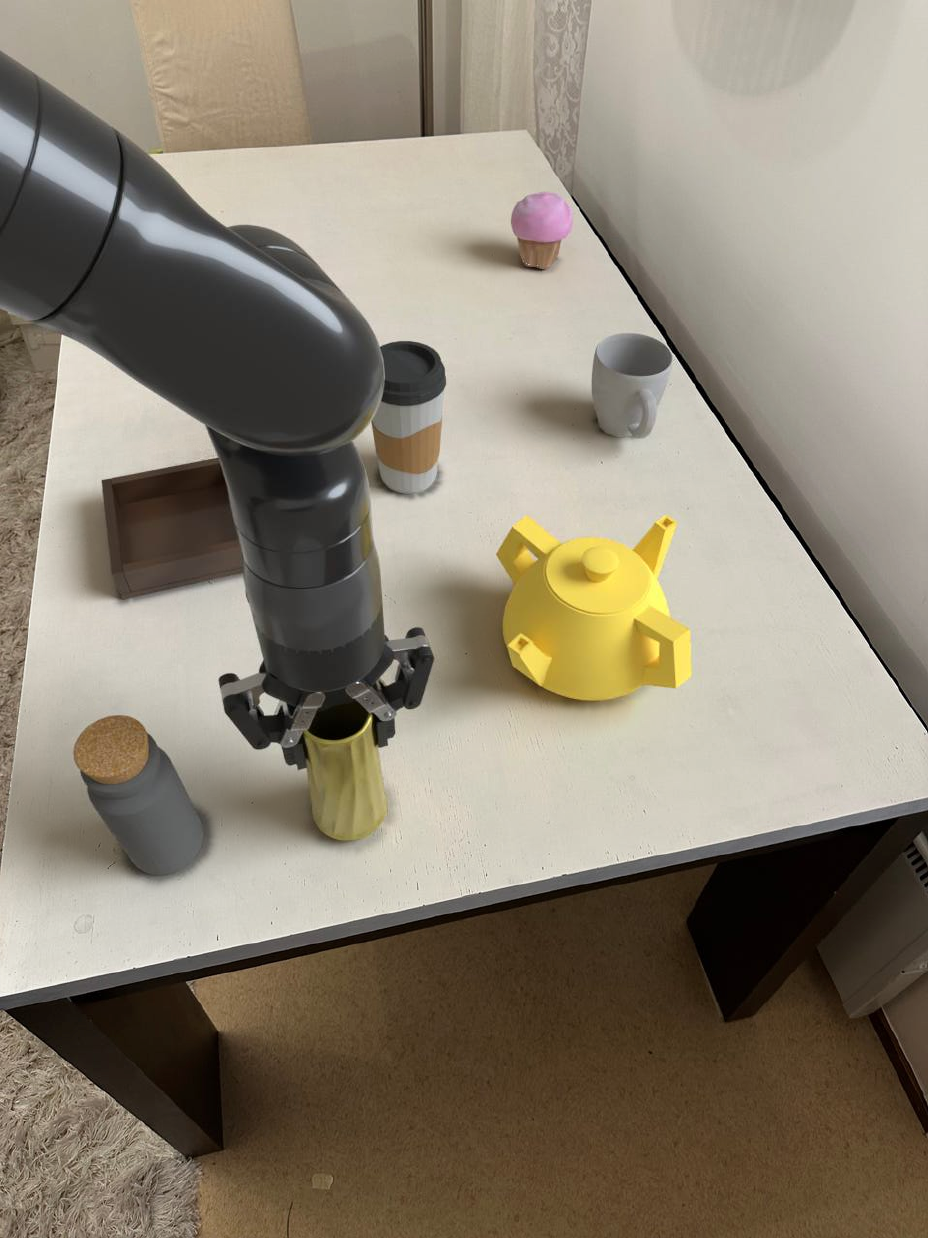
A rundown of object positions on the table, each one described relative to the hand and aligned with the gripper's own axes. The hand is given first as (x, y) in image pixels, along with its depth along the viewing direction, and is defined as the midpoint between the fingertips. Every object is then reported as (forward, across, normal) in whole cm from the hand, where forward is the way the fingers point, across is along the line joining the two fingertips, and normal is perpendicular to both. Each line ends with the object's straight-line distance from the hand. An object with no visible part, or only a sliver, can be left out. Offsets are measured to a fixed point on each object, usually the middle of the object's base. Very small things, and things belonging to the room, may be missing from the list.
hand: (340, 747), depth 61 cm
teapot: (+10, +25, +10) cm, 29 cm away
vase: (+10, 0, 0) cm, 10 cm away
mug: (+10, +43, +38) cm, 58 cm away
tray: (+10, -9, +36) cm, 38 cm away
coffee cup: (+10, +16, +38) cm, 42 cm away
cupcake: (+10, +48, +78) cm, 92 cm away
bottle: (+10, -14, +2) cm, 18 cm away
